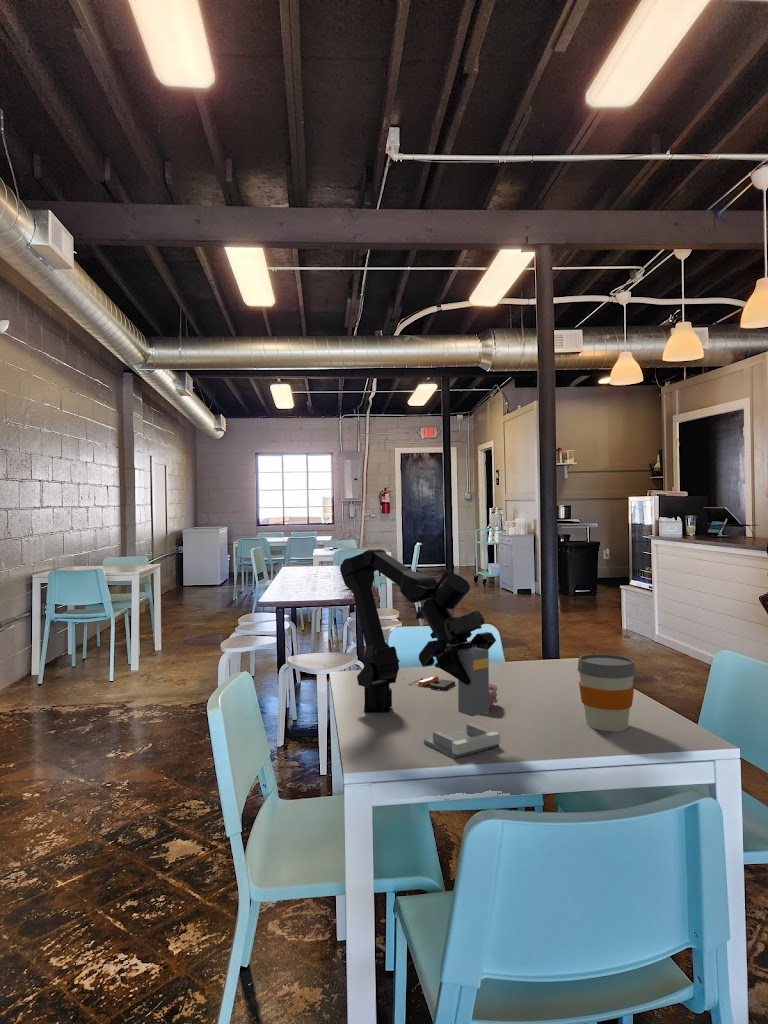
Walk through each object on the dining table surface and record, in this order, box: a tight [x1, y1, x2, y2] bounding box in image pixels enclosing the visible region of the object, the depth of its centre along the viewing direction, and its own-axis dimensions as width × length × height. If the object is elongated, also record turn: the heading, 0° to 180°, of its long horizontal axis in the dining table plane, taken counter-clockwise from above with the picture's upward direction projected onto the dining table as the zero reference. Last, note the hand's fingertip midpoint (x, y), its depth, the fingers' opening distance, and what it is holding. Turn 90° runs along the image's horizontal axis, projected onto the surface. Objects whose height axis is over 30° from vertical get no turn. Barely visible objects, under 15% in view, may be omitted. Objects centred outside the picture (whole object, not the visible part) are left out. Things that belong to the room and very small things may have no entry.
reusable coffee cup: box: [577, 653, 636, 732], centre depth 143 cm, size 13×13×15 cm
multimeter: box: [408, 675, 456, 691], centre depth 180 cm, size 18×12×3 cm, turn 54°
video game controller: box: [489, 683, 499, 710], centre depth 158 cm, size 10×5×7 cm, turn 169°
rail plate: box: [423, 722, 501, 759], centre depth 131 cm, size 11×12×3 cm
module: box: [457, 647, 490, 717], centre depth 131 cm, size 4×5×13 cm
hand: (478, 681), depth 130 cm, fingers closed on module, 5 cm apart
